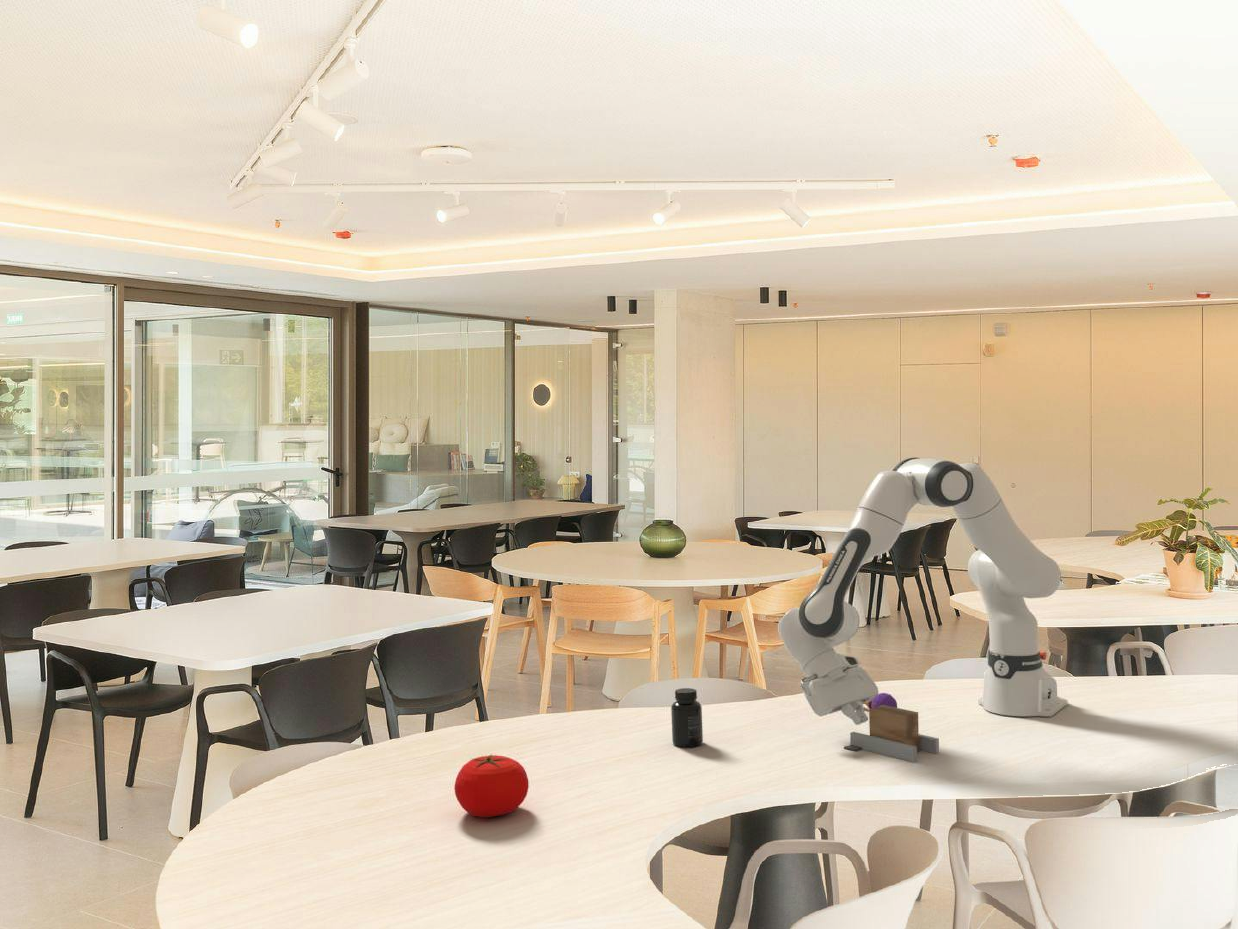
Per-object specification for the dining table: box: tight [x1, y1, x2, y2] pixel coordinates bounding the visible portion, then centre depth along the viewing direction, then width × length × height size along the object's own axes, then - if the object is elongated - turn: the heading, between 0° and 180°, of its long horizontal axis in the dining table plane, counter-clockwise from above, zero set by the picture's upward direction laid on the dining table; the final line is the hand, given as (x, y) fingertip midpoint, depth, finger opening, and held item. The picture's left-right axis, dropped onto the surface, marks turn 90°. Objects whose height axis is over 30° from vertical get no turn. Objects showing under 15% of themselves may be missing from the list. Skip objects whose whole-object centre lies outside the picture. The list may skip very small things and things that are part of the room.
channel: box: [843, 731, 940, 763], centre depth 233 cm, size 14×16×3 cm
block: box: [868, 705, 920, 753], centre depth 233 cm, size 5×9×8 cm, turn 41°
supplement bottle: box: [670, 687, 704, 748], centre depth 241 cm, size 7×7×12 cm
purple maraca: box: [863, 692, 898, 710], centre depth 265 cm, size 6×6×20 cm
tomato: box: [453, 754, 530, 818], centre depth 201 cm, size 14×13×10 cm
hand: (862, 722), depth 240 cm, fingers closed
